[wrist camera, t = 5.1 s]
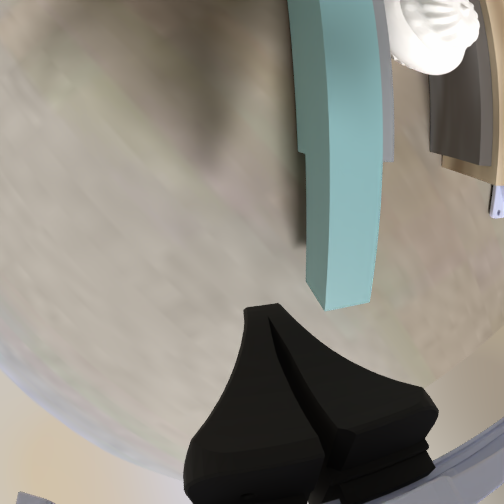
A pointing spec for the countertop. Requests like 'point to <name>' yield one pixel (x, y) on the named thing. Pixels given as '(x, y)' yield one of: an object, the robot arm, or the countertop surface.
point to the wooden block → (473, 103)
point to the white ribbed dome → (430, 33)
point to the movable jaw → (342, 139)
